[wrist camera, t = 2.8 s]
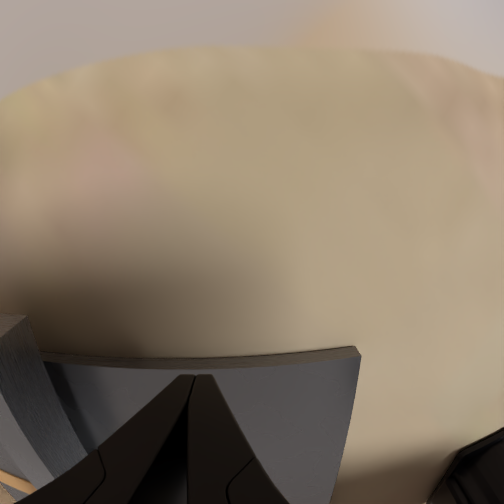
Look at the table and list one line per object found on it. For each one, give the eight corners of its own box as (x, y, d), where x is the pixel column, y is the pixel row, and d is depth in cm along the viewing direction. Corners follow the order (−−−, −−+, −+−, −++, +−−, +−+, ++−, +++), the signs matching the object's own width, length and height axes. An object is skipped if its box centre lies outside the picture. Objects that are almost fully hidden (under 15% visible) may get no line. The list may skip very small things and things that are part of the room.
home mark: (52, 489, 11) (52, 491, 11) (66, 506, 11) (66, 507, 11) (-16, 462, 11) (-16, 462, 11) (-1, 479, 11) (-2, 480, 11)
